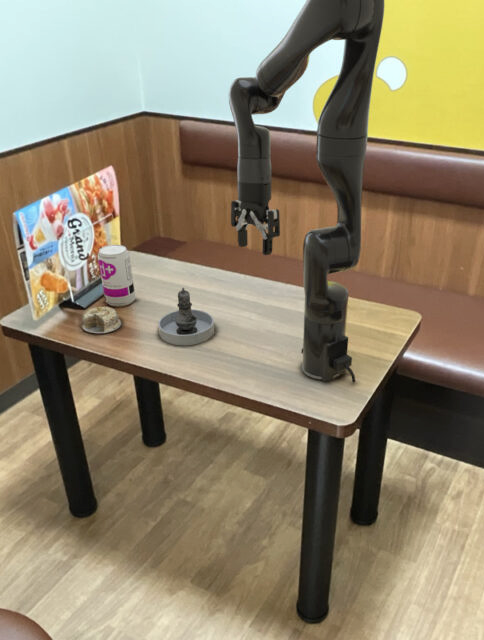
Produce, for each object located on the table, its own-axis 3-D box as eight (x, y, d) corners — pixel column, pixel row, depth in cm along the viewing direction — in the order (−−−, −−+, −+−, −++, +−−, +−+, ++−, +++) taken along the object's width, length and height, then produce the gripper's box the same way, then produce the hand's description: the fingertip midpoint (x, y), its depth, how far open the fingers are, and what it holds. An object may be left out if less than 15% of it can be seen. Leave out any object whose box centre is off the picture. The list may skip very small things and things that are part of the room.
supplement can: (119, 310, 163) (111, 258, 155) (99, 302, 167) (90, 250, 159) (141, 299, 169) (135, 248, 160) (122, 291, 173) (114, 241, 164)
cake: (91, 316, 161) (88, 297, 159) (127, 320, 160) (125, 301, 158) (74, 332, 153) (72, 312, 150) (112, 336, 152) (110, 316, 149)
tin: (224, 334, 153) (224, 324, 151) (176, 351, 146) (175, 341, 144) (196, 313, 162) (195, 304, 160) (149, 328, 155) (148, 319, 153)
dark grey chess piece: (173, 327, 155) (168, 284, 148) (196, 323, 157) (192, 281, 150) (177, 338, 151) (173, 294, 144) (200, 334, 152) (197, 291, 145)
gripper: (220, 175, 136) (223, 246, 144) (263, 185, 127) (263, 260, 135) (246, 171, 141) (247, 240, 149) (289, 180, 132) (287, 254, 139)
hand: (254, 250), depth 142 cm, fingers open, 8 cm apart
